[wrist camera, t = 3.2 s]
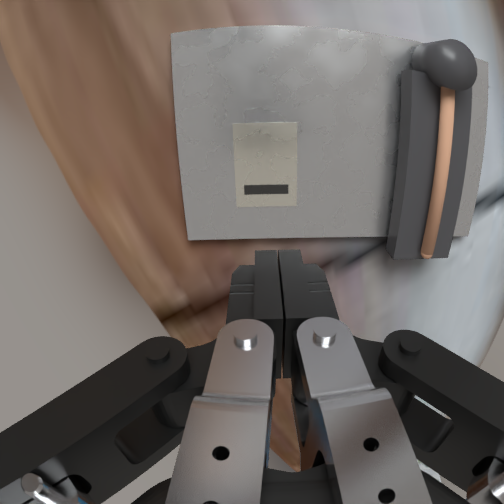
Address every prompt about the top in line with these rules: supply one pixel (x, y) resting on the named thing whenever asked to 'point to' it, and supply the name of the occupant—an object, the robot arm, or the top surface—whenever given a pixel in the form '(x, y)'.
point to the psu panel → (297, 131)
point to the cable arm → (431, 149)
